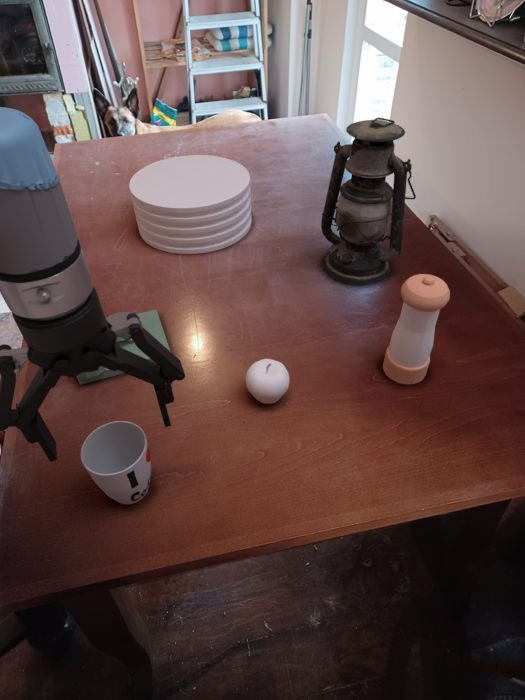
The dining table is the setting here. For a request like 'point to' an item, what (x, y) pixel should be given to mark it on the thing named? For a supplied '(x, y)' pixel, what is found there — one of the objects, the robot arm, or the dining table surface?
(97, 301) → the robot arm
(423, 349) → the salt shaker
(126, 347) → the scale
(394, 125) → the lantern
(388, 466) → the dining table surface
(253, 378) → the plain white apple
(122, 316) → the pan
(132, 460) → the cup
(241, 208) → the plate stack
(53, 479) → the dining table surface
